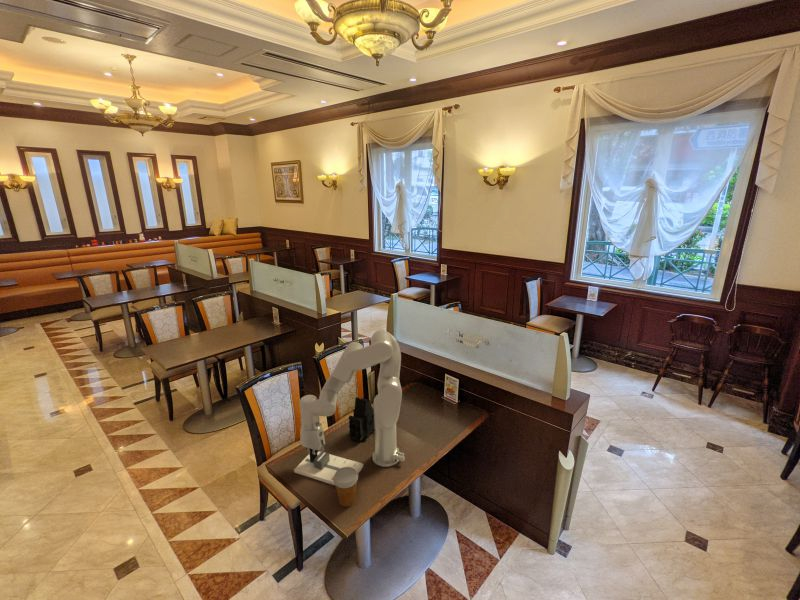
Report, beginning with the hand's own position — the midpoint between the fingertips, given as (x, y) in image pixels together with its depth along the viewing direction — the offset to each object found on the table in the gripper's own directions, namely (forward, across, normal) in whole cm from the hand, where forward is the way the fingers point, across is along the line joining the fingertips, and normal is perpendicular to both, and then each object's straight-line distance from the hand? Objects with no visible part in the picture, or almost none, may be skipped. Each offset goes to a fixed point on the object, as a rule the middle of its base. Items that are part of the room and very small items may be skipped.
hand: (313, 459), depth 162 cm
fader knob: (+1, -4, 0) cm, 4 cm away
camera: (+3, -10, -26) cm, 28 cm away
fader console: (+3, -8, 0) cm, 8 cm away
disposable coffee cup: (+3, -24, +12) cm, 27 cm away
